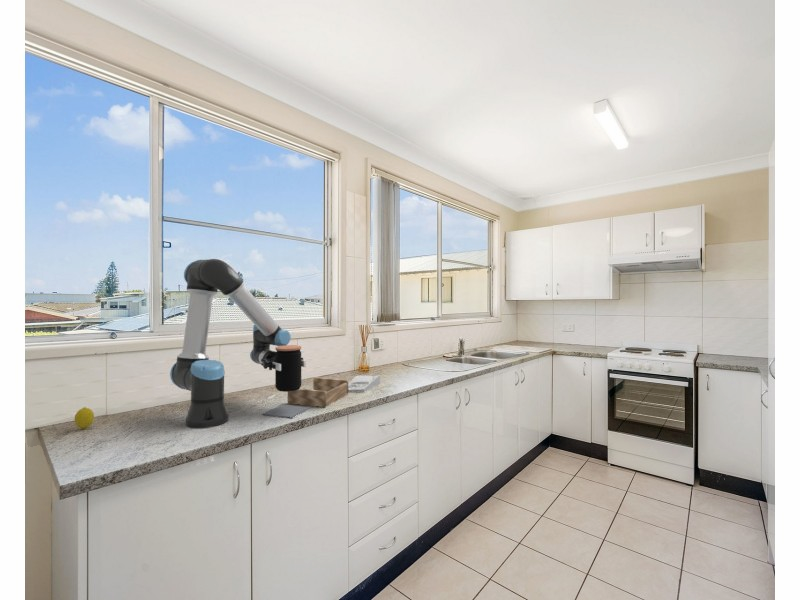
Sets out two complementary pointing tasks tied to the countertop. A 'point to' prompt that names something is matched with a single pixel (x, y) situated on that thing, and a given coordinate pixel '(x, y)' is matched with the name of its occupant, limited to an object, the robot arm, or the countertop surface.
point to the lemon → (84, 418)
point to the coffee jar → (288, 368)
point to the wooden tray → (320, 392)
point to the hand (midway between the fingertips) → (293, 365)
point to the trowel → (363, 383)
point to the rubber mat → (286, 411)
